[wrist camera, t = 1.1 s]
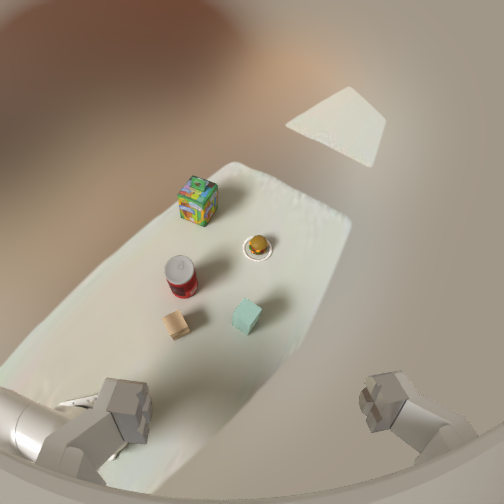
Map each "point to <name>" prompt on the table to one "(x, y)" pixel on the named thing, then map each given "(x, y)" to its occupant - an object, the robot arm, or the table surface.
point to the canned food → (181, 276)
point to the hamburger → (257, 246)
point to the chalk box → (198, 200)
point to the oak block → (176, 325)
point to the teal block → (246, 316)
